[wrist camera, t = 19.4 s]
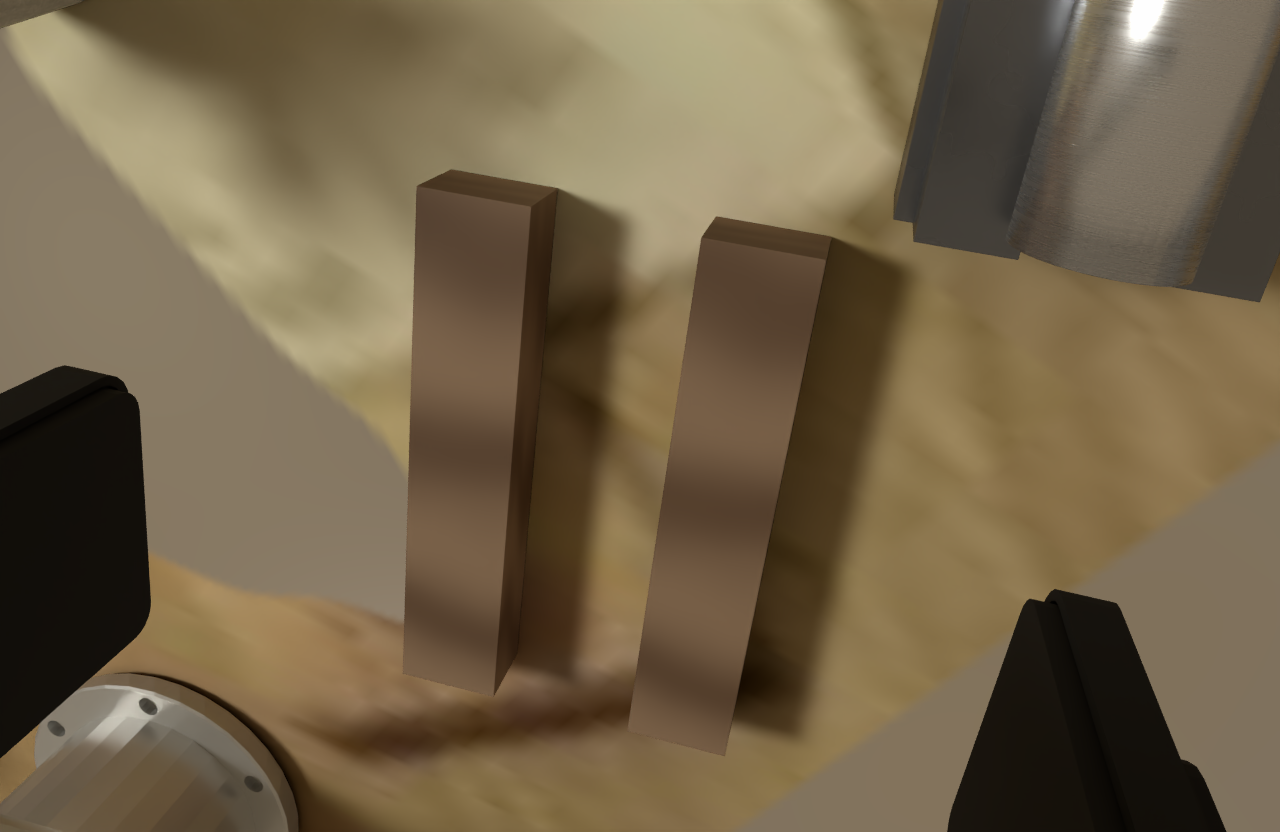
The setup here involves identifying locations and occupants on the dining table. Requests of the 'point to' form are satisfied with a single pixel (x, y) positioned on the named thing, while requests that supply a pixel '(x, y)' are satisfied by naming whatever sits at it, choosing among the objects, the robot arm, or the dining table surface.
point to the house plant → (29, 9)
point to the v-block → (1006, 128)
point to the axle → (1143, 135)
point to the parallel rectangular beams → (506, 434)
